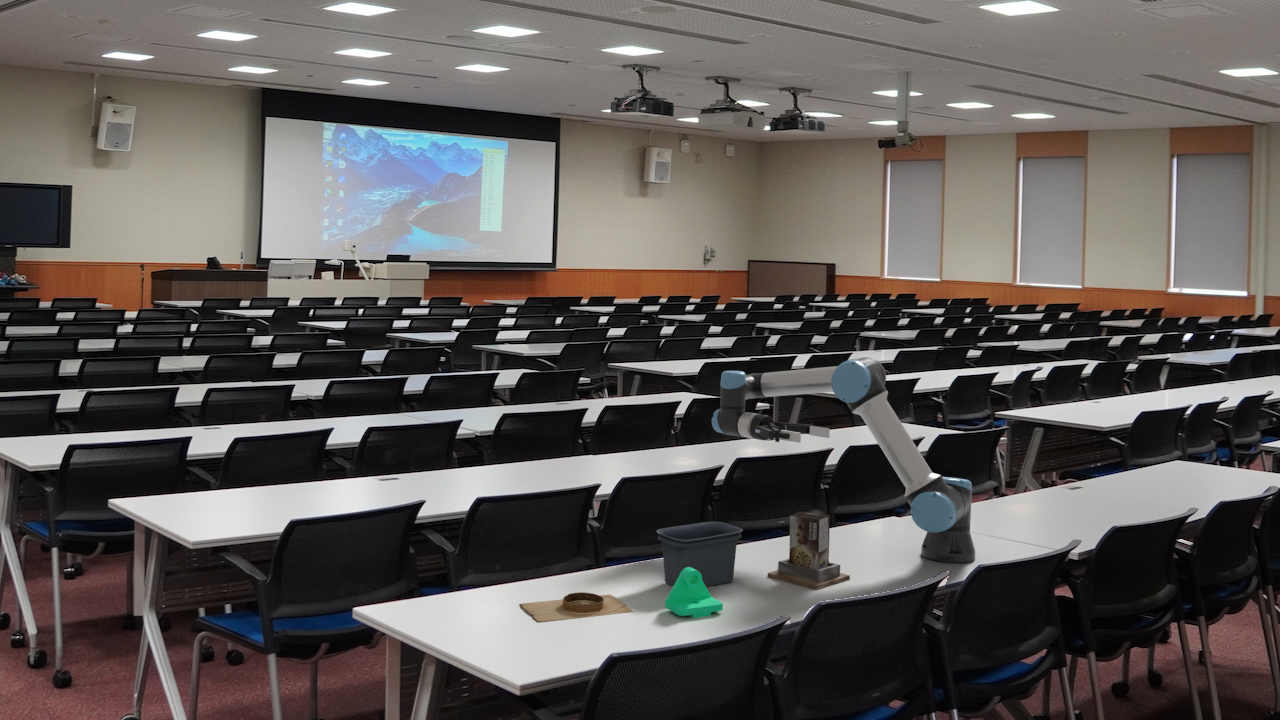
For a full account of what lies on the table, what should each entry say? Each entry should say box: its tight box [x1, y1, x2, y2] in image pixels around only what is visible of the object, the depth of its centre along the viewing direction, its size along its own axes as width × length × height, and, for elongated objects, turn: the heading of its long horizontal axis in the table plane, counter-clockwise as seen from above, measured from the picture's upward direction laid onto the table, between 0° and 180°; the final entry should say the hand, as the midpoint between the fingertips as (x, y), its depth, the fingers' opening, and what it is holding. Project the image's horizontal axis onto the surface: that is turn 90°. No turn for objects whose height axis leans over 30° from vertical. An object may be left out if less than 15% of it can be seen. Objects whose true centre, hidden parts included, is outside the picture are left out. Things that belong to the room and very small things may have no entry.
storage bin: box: [656, 521, 744, 587], centre depth 304 cm, size 21×16×14 cm
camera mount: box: [664, 567, 724, 619], centre depth 278 cm, size 12×8×10 cm, turn 116°
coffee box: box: [788, 510, 831, 570], centre depth 310 cm, size 9×6×16 cm
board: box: [518, 591, 634, 624], centre depth 280 cm, size 25×15×3 cm, turn 114°
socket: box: [767, 558, 851, 590], centre depth 310 cm, size 15×16×4 cm
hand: (814, 435), depth 330 cm, fingers open, 13 cm apart
